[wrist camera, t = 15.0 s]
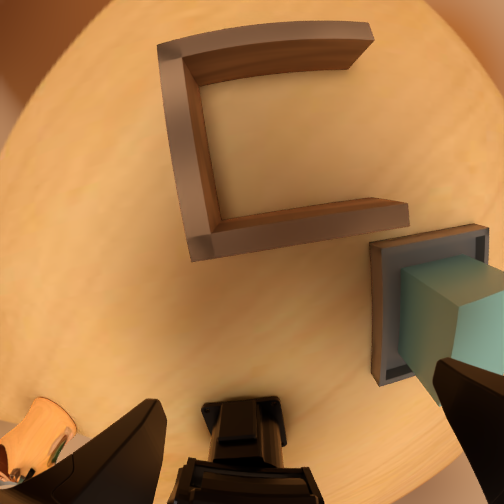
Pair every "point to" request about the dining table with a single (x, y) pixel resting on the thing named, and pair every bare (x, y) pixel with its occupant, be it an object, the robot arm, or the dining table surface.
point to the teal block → (451, 316)
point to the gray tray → (389, 286)
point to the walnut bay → (196, 146)
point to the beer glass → (34, 443)
